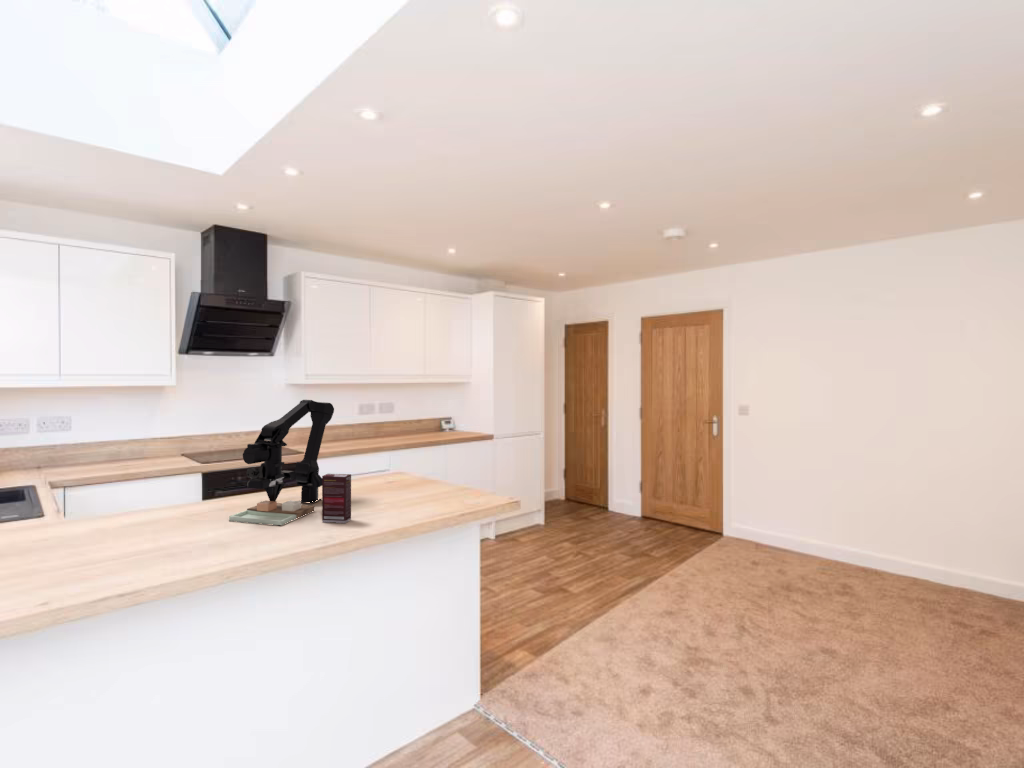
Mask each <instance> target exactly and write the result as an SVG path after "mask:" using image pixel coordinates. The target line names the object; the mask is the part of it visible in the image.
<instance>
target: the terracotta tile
mask: <svg viewBox="0 0 1024 768" xmlns="http://www.w3.org/2000/svg"><path fill="white" fill-rule="evenodd" d="M277 503H278V501H277V500H276V501H270V500H263V501H261V502H257V503H256V506H257V511H271V510H274V509H276V508H277Z"/></svg>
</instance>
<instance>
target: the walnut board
mask: <svg viewBox="0 0 1024 768" xmlns="http://www.w3.org/2000/svg"><path fill="white" fill-rule="evenodd" d="M282 503H283V502H281V503H280V502H277V508H276V509H274V510H271V511H261V512H272V513H282V514H293V515H296V518H298V517H301V516H303V515H305V514H308V513H310V512H312V511H314V512H315V505H304V504H301V508H300V509H298V510H295V511H283V510H282ZM246 510H250V511H257V505H254V506H252V507H248V508H246ZM312 513H313V512H312ZM310 514H311V513H310ZM308 515H309V514H308ZM305 516H306V515H305ZM303 517H304V516H303ZM301 518H302V517H301ZM298 519H299V518H298Z"/></svg>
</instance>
